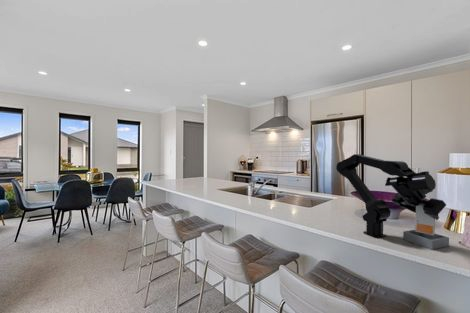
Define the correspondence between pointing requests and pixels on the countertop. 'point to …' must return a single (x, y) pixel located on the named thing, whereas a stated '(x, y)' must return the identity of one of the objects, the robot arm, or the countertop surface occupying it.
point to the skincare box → (424, 222)
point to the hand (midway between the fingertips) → (428, 216)
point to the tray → (426, 239)
